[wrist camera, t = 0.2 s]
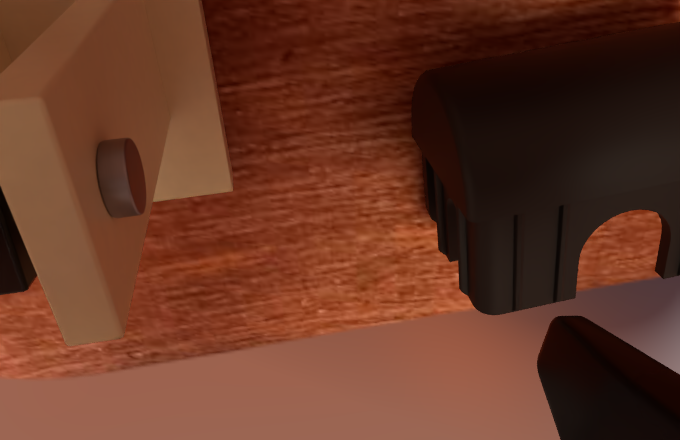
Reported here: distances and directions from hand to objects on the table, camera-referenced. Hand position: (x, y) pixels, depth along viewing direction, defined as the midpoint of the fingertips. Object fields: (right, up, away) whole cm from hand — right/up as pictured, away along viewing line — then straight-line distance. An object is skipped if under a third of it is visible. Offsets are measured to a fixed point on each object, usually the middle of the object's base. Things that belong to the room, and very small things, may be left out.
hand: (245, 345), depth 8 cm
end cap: (+9, +6, +14) cm, 18 cm away
